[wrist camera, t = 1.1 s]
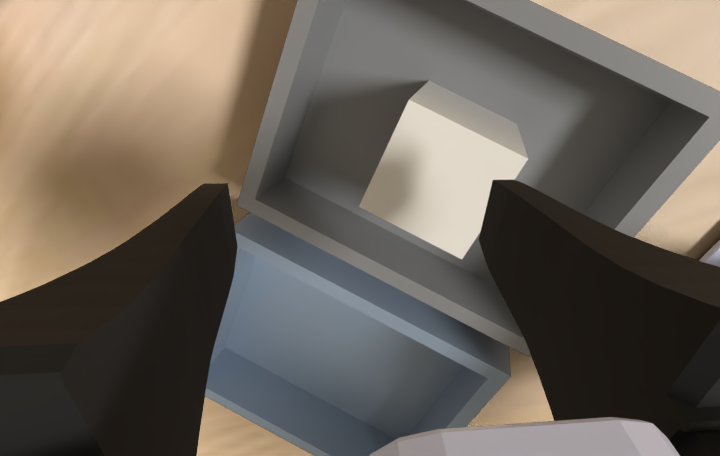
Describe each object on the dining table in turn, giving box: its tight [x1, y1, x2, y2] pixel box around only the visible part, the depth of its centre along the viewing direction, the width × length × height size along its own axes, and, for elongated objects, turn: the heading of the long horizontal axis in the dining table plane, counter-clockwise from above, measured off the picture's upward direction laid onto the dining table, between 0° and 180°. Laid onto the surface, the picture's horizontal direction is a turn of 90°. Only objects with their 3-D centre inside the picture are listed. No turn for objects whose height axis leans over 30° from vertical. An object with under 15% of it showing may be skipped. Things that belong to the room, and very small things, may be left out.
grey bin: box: [237, 0, 720, 356], centre depth 20 cm, size 16×13×4 cm
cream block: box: [359, 81, 528, 259], centre depth 18 cm, size 4×4×6 cm
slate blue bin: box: [205, 212, 511, 456], centre depth 27 cm, size 16×13×4 cm
